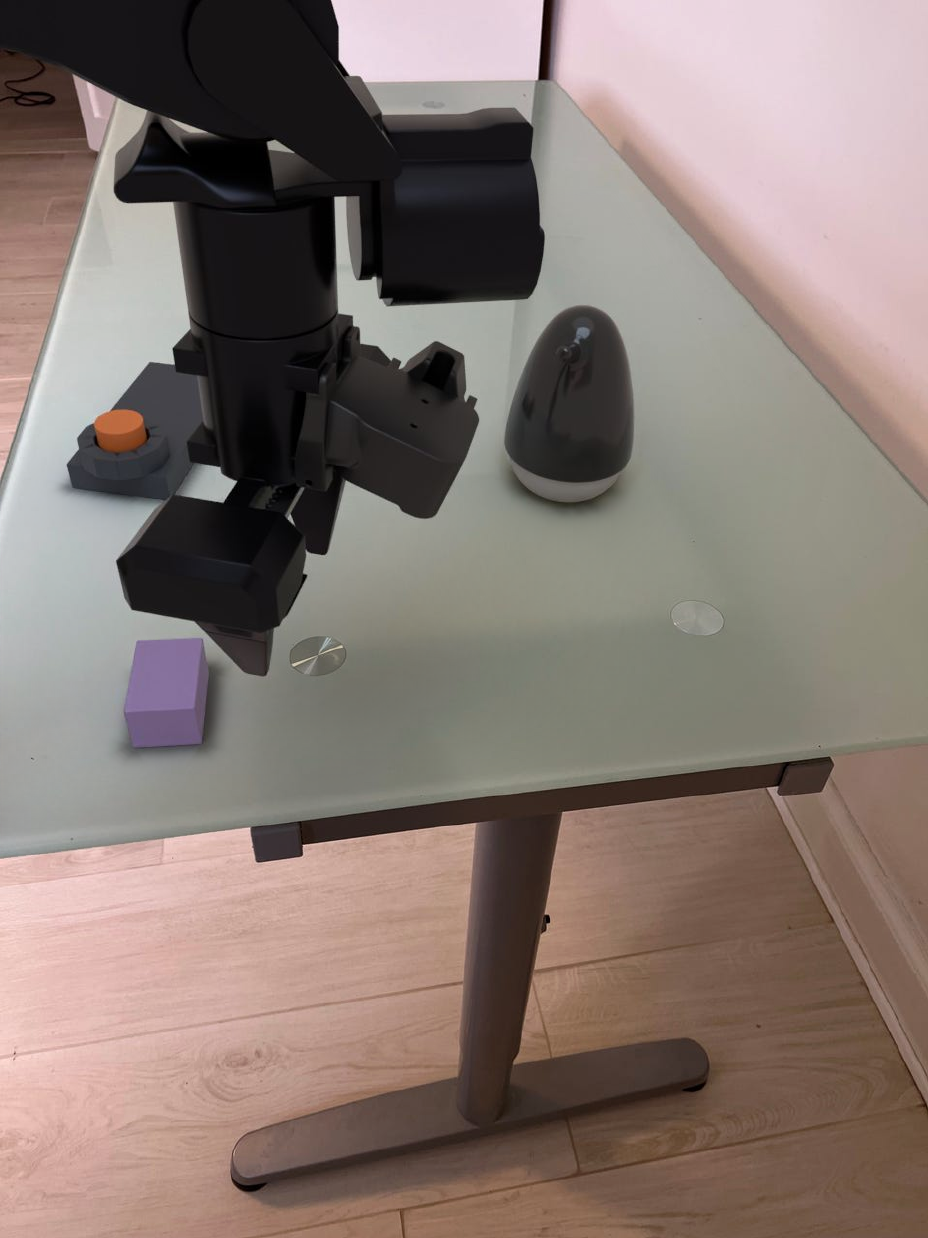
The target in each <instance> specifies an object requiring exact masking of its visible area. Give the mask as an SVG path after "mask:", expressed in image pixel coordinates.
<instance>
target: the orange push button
mask: <svg viewBox="0 0 928 1238" xmlns="http://www.w3.org/2000/svg"><path fill="white" fill-rule="evenodd" d="M93 423H94V427H95V431H96V436H97V440H98V444H99V446H100V448H101V449H102V450H104V451H111V452H123V451H130V450H134V449H136V448H138V447H140V446H142V445H144V444H145V443H146V441H147V436H146V431H145V426H144V421H143V417H142V416H141V415H140V414H139V413H137V412H135V411H132V410H113V411H110V410H109V411H106V412H104V413H102V414H100V415H99V416H98V417H96V418H95V420H94V422H93Z"/></svg>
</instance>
